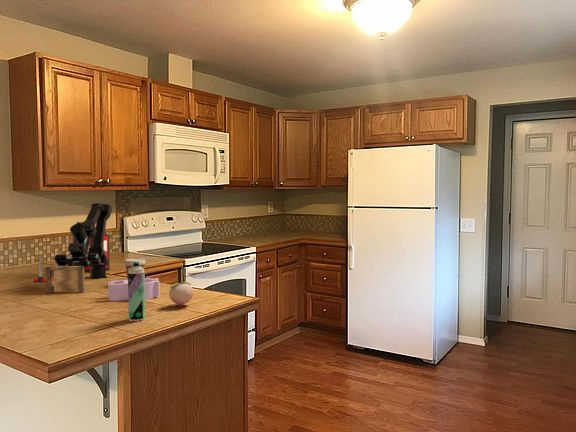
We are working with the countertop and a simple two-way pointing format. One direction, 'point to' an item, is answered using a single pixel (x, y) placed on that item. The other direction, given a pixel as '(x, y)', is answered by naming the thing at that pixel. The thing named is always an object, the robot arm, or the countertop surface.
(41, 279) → the tow hook
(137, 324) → the countertop surface
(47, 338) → the countertop surface
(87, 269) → the cleaning product box
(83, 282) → the frame
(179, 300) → the decorative fruit
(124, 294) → the clip
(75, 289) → the door
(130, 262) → the disposable coffee cup
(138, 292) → the spray can
